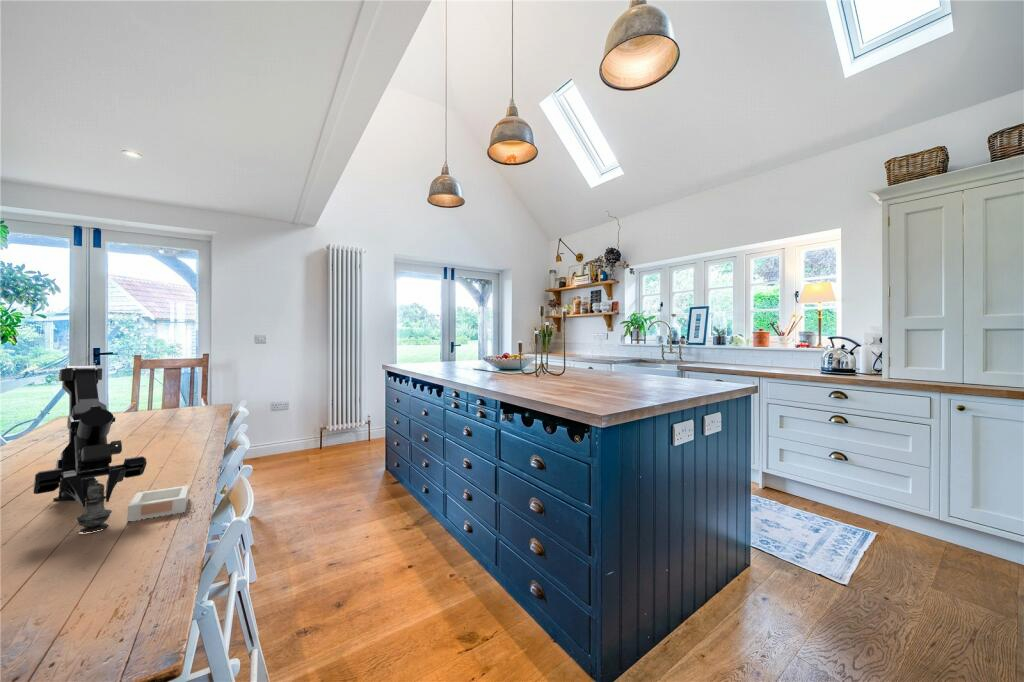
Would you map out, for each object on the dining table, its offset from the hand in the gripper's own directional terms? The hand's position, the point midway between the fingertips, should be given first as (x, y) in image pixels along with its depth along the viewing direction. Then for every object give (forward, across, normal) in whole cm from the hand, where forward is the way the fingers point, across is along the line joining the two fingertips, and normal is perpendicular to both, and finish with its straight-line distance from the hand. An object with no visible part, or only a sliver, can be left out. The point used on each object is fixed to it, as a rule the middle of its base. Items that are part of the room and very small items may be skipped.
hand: (96, 503), depth 92 cm
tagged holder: (+2, +13, +8) cm, 15 cm away
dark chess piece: (+4, 0, +6) cm, 7 cm away
